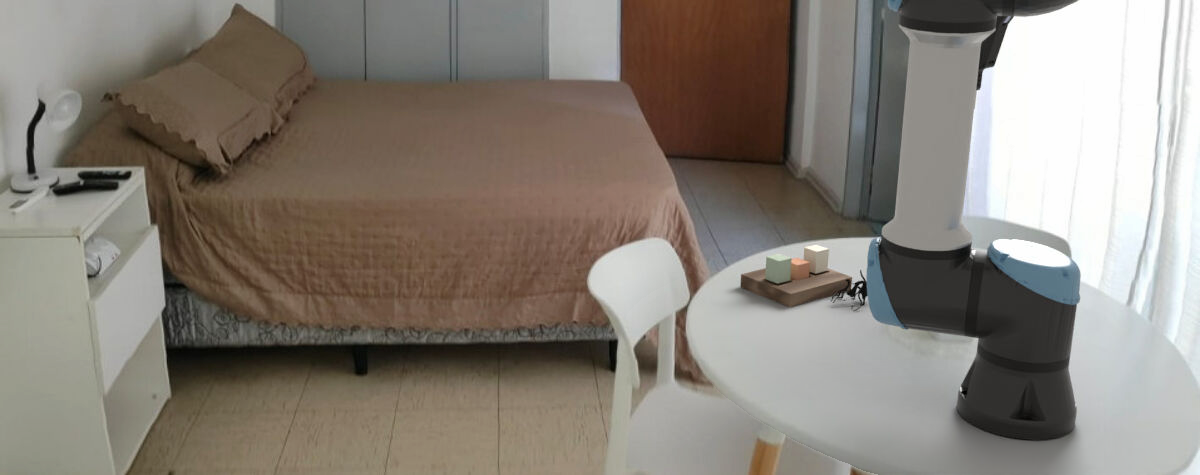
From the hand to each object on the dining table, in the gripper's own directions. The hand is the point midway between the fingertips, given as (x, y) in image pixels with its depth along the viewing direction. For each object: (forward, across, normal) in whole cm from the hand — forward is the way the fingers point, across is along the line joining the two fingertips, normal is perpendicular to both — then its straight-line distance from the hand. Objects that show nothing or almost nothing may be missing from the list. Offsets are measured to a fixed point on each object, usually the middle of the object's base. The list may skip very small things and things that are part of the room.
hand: (965, 108), depth 196 cm
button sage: (+30, +16, +25) cm, 42 cm away
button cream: (+30, +17, +15) cm, 37 cm away
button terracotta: (+31, +17, +20) cm, 41 cm away
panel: (+32, +16, +20) cm, 42 cm away
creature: (+33, +6, +17) cm, 38 cm away
